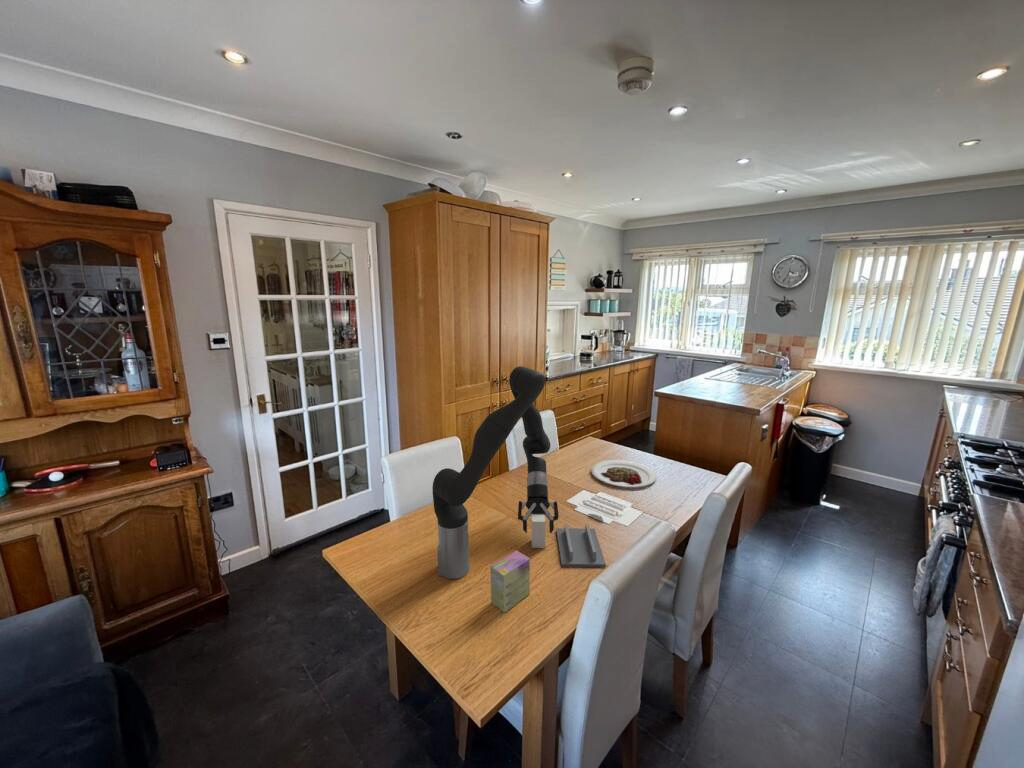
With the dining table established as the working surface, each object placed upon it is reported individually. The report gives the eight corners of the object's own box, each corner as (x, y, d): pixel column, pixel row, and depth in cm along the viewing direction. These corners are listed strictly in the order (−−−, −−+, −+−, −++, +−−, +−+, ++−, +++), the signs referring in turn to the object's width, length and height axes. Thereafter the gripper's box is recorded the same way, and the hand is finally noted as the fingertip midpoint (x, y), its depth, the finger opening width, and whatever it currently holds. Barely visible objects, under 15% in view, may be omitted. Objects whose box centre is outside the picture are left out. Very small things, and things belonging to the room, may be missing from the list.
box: (516, 584, 121) (516, 549, 118) (530, 594, 117) (530, 558, 114) (490, 602, 114) (489, 566, 111) (504, 613, 110) (503, 576, 107)
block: (531, 547, 138) (532, 521, 136) (531, 539, 143) (531, 514, 141) (545, 547, 138) (545, 521, 136) (544, 540, 143) (544, 514, 140)
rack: (561, 566, 129) (561, 555, 128) (556, 530, 148) (556, 520, 147) (605, 567, 128) (606, 556, 127) (594, 531, 148) (594, 521, 147)
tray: (587, 489, 181) (588, 481, 181) (647, 513, 163) (648, 504, 162) (561, 506, 167) (561, 498, 166) (623, 535, 149) (624, 526, 148)
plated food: (605, 458, 214) (606, 452, 213) (663, 472, 197) (664, 466, 196) (580, 479, 190) (580, 472, 189) (643, 497, 173) (644, 490, 172)
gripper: (517, 482, 144) (517, 529, 135) (557, 483, 144) (560, 530, 135) (517, 489, 151) (517, 534, 142) (556, 489, 150) (558, 535, 142)
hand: (538, 532), depth 139 cm, fingers open, 8 cm apart
